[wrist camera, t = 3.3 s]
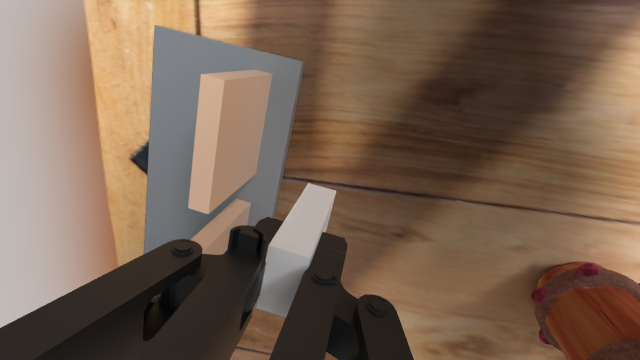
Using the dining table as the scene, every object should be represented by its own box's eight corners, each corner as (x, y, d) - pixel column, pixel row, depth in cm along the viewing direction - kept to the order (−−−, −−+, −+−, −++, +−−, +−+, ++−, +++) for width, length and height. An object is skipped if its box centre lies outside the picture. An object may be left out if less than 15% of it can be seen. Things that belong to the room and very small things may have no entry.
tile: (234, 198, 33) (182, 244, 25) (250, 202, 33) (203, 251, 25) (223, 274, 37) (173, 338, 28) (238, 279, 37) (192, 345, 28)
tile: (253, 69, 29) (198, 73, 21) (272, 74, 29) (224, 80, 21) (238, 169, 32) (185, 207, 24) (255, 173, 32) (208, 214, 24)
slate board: (163, 26, 31) (154, 25, 30) (305, 61, 29) (302, 61, 28) (150, 255, 39) (143, 261, 38) (260, 290, 38) (256, 297, 37)
